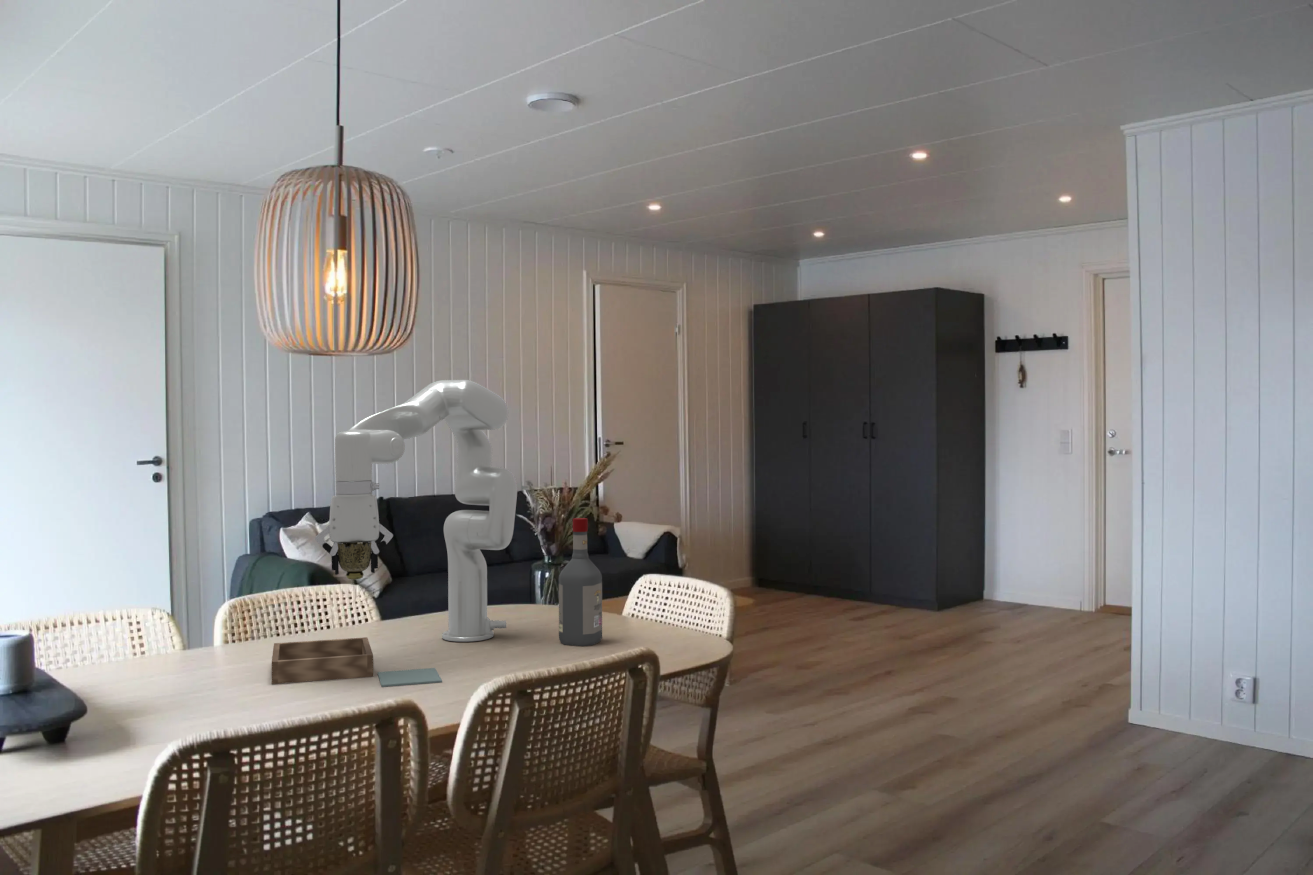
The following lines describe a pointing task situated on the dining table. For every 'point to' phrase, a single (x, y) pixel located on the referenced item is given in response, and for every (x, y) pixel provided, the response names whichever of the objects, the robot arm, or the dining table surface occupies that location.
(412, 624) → the dining table surface
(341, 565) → the cup
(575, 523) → the liquor
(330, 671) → the walnut box
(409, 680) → the mat
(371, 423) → the robot arm
